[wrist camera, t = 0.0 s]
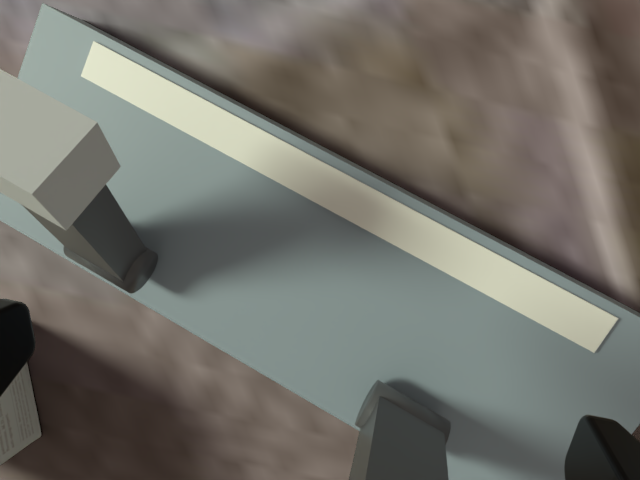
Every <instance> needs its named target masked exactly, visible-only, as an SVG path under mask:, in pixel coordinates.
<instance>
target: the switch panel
mask: <svg viewBox="0 0 640 480" xmlns="http://www.w3.org/2000/svg"><path fill="white" fill-rule="evenodd" d="M17 79H19V80H21V81H23V82H25V83H26V84H28V85H30V86H32V87H34V88H36V89H37V90H39V91H41V92H43V93H45V94H46V95H48V96H50V97H52V98H54V99H56V100H57V101H59V102H61V103H63V104H65V105H67V106H68V107H70V108H72V109H74V110H76V111H78V112H79V113H81V114H83V115H85V116H87V117H88V118H90V119H92V120H94V121H96V122H97V123H98V125H99V126H100V128H101V130H102V132H103V134H104V136H105V138H106V140H107V141H108V143H109V145H110V147H111V149H112V151H113V153H114V155H115V156H116V158H117V160H118V162H119V164H120V166H121V167H120V168H119V169H118V171H117V172H116V173H115V174H114V175H113V176H112V178H111V179H110V180H109V181H108V182H107V184H106V185H107V187H108V188H109V190H110V192H111V193H112V195H113V196H114V198H115V200H116V201H117V203H118V204H119V206H120V207H121V209H122V211H123V212H124V214H125V215H126V217H127V219H128V220H129V222H130V223H131V225H132V227H133V228H134V230H135V231H136V233H137V235H138V236H139V238H140V239H141V241H142V243H143V244H144V246H145V247H147V248H148V249H150V250H152V251H154V252H155V253H157V255H158V261H157V265H156V268H155V270H154V272H153V274H152V275H151V277H150V278H149V280H148V281H147V282H146V283H145V285H144V286H143V287H142V288H141V289H139V290H138V291H137V292H135V293H128V292H127V291H125V290H123V289H121V288H120V287H118V286H116V285H115V284H113V283H111V282H110V281H108V280H106V279H104V278H103V277H101V276H99V275H98V274H96V273H94V272H92V271H91V270H89V269H87V268H86V267H84V266H82V265H80V264H79V263H77V262H75V261H74V260H72V259H70V258H69V257H67V256H66V255H65V254H64V250H63V248H64V245H63V244H62V243H61V242H60V241H59V240H57V239H56V238H55V237H54V236H53V235H52V234H51V233H50V232H49V231H48V230H47V229H46V228H45V227H44V226H43V225H42V224H41V223H40V222H39V221H38V220H37V219H36V218H35V217H34V216H33V215H32V214H30V213H29V212H28V211H27V210H26V209H25V208H24V207H23V206H22V205H21V204H19V203H18V202H16V201H14V200H13V199H11V198H9V197H7V196H6V195H4V194H2V193H0V221H2V222H4V223H5V224H7V225H9V226H11V227H12V228H14V229H16V230H17V231H19V232H21V233H23V234H24V235H26V236H28V237H29V238H31V239H33V240H34V241H36V242H38V243H40V244H41V245H43V246H45V247H46V248H48V249H50V250H52V251H53V252H55V253H57V254H58V255H60V256H62V257H63V258H65V259H67V260H69V261H70V262H72V263H74V264H75V265H77V266H79V267H81V268H82V269H84V270H86V271H87V272H89V273H91V274H92V275H94V276H96V277H98V278H99V279H101V280H103V281H104V282H106V283H108V284H110V285H111V286H113V287H115V288H116V289H118V290H120V291H121V292H123V293H125V294H127V295H128V296H130V297H132V298H133V299H135V300H137V301H139V302H140V303H142V304H144V305H145V306H147V307H149V308H150V309H152V310H154V311H156V312H157V313H159V314H161V315H162V316H164V317H166V318H168V319H169V320H171V321H173V322H174V323H176V324H178V325H179V326H181V327H183V328H185V329H186V330H188V331H190V332H191V333H193V334H195V335H197V336H198V337H200V338H202V339H203V340H205V341H207V342H208V343H210V344H212V345H214V346H215V347H217V348H219V349H220V350H222V351H224V352H226V353H227V354H229V355H231V356H232V357H234V358H236V359H237V360H239V361H241V362H243V363H244V364H246V365H248V366H249V367H251V368H253V369H255V370H256V371H258V372H260V373H261V374H263V375H265V376H266V377H268V378H270V379H272V380H273V381H275V382H277V383H278V384H280V385H282V386H284V387H285V388H287V389H289V390H290V391H292V392H294V393H295V394H297V395H299V396H301V397H302V398H304V399H306V400H307V401H309V402H311V403H313V404H314V405H316V406H318V407H319V408H321V409H323V410H324V411H326V412H328V413H330V414H331V415H333V416H335V417H336V418H338V419H340V420H342V421H343V422H345V423H347V424H348V425H350V426H352V427H354V428H355V429H357V430H359V431H360V428H359V427H357V426H356V425H355V422H356V418H357V416H358V413H359V411H360V408H361V406H362V404H363V402H364V400H365V398H366V396H367V395H368V393H369V391H370V389H371V388H372V386H373V385H374V383H375V382H376V381H377V380H379V381H381V382H383V383H385V384H386V385H388V386H390V387H392V388H393V389H395V390H397V391H399V392H400V393H402V394H404V395H406V396H407V397H409V398H411V399H413V400H414V401H416V402H418V403H420V404H421V405H423V406H425V407H427V408H428V409H430V410H432V411H434V412H435V413H437V414H439V415H441V416H442V417H444V418H446V419H448V420H449V421H450V423H451V429H450V434H449V437H448V440H447V443H446V445H445V446H446V457H447V467H448V478H449V480H565V473H564V465H565V458H566V454H567V452H568V449H569V446H570V443H571V441H572V438H573V435H574V433H575V430H576V427H577V425H578V422H579V420H580V419H581V418H582V416H584V415H593V416H598V417H603V418H609V419H613V420H615V421H617V422H618V423H619V424H621V425H622V426H623V427H624V428H625V429H626V430H627V431H628V432H629V433H630V434H632V433H633V432H634V431H635V429H636V428H637V427H638V426H639V424H640V313H639V312H637V311H635V310H633V309H631V308H629V307H627V306H626V305H624V304H622V303H620V302H618V301H616V300H614V299H612V298H610V297H608V296H607V295H605V294H603V293H601V292H599V291H597V290H595V289H593V288H591V287H589V286H587V285H586V284H584V283H582V282H580V281H578V280H576V279H574V278H572V277H570V276H568V275H567V274H565V273H563V272H561V271H559V270H557V269H555V268H553V267H551V266H549V265H547V264H546V263H544V262H542V261H540V260H538V259H536V258H534V257H532V256H530V255H528V254H527V253H525V252H523V251H521V250H519V249H517V248H515V247H513V246H511V245H509V244H508V243H506V242H504V241H502V240H500V239H498V238H496V237H494V236H492V235H490V234H488V233H487V232H485V231H483V230H481V229H479V228H477V227H475V226H473V225H471V224H469V223H468V222H466V221H464V220H462V219H460V218H458V217H456V216H454V215H452V214H450V213H448V212H447V211H445V210H443V209H441V208H439V207H437V206H435V205H433V204H431V203H429V202H428V201H426V200H424V199H422V198H420V197H418V196H416V195H414V194H412V193H410V192H408V191H407V190H405V189H403V188H401V187H399V186H397V185H395V184H393V183H391V182H389V181H388V180H386V179H384V178H382V177H380V176H378V175H376V174H374V173H372V172H370V171H369V170H367V169H365V168H363V167H361V166H359V165H357V164H355V163H353V162H351V161H349V160H348V159H346V158H344V157H342V156H340V155H338V154H336V153H334V152H332V151H330V150H329V149H327V148H325V147H323V146H321V145H319V144H317V143H315V142H313V141H311V140H309V139H308V138H306V137H304V136H302V135H300V134H298V133H296V132H294V131H292V130H290V129H289V128H287V127H285V126H283V125H281V124H279V123H277V122H275V121H273V120H271V119H269V118H268V117H266V116H264V115H262V114H260V113H258V112H256V111H254V110H252V109H250V108H249V107H247V106H245V105H243V104H241V103H239V102H237V101H235V100H233V99H231V98H229V97H228V96H226V95H224V94H222V93H220V92H218V91H216V90H214V89H212V88H210V87H209V86H207V85H205V84H203V83H201V82H199V81H197V80H195V79H193V78H191V77H190V76H188V75H186V74H184V73H182V72H180V71H178V70H176V69H174V68H172V67H170V66H169V65H167V64H165V63H163V62H161V61H159V60H157V59H155V58H153V57H151V56H150V55H148V54H146V53H144V52H142V51H140V50H138V49H136V48H134V47H132V46H130V45H129V44H127V43H125V42H123V41H121V40H119V39H117V38H115V37H113V36H111V35H110V34H108V33H106V32H104V31H102V30H100V29H98V28H96V27H94V26H92V25H90V24H89V23H87V22H85V21H83V20H81V19H79V18H76V17H74V16H72V15H69V14H67V13H65V12H62V11H60V10H58V9H55V8H53V7H51V6H48V5H46V4H43V3H42V6H41V9H40V12H39V15H38V18H37V21H36V24H35V27H34V30H33V33H32V36H31V39H30V42H29V45H28V48H27V51H26V54H25V57H24V60H23V63H22V66H21V69H20V72H19V75H18V78H17Z"/></svg>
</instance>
